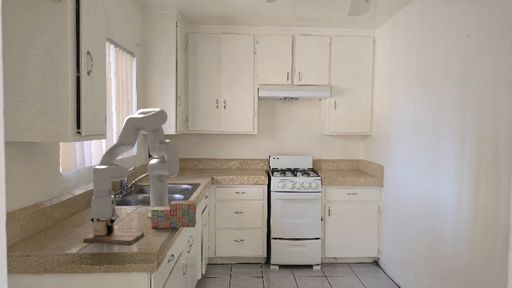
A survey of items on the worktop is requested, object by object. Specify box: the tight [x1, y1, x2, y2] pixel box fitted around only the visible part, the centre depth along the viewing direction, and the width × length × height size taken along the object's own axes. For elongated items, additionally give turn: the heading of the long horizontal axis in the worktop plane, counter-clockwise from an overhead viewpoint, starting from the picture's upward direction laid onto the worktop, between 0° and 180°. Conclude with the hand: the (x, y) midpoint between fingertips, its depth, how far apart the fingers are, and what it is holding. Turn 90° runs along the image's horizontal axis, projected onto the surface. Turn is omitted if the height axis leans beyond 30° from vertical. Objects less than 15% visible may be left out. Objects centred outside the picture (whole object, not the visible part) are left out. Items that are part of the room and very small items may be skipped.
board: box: [82, 230, 145, 245], centre depth 155 cm, size 12×22×2 cm, turn 82°
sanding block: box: [92, 219, 115, 236], centre depth 157 cm, size 8×5×6 cm, turn 171°
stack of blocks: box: [150, 200, 197, 229], centre depth 174 cm, size 21×6×12 cm, turn 94°
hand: (103, 232), depth 157 cm, fingers closed on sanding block, 5 cm apart
